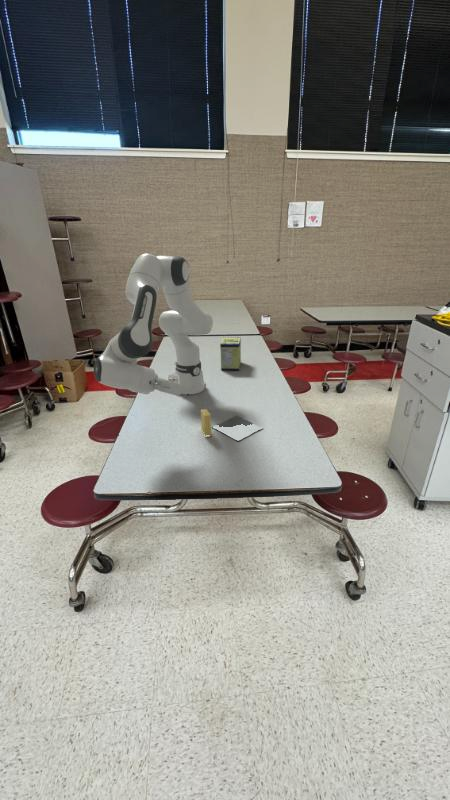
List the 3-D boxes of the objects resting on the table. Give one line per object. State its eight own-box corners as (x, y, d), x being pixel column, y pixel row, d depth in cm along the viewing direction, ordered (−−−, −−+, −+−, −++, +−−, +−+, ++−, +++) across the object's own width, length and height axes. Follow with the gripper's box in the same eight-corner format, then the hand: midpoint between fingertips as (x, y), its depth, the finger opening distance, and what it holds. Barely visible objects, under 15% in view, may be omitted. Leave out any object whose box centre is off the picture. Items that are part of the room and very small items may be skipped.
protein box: (240, 362, 214) (240, 336, 208) (239, 371, 200) (239, 344, 194) (223, 361, 215) (223, 336, 209) (220, 371, 201) (220, 344, 195)
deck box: (205, 437, 137) (204, 415, 133) (201, 431, 142) (200, 409, 138) (211, 436, 138) (210, 414, 134) (207, 430, 142) (206, 408, 138)
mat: (211, 427, 144) (211, 427, 144) (236, 416, 152) (236, 415, 152) (238, 442, 134) (238, 441, 134) (263, 428, 142) (263, 427, 142)
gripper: (159, 375, 109) (197, 384, 117) (136, 367, 125) (171, 376, 133) (154, 395, 109) (192, 403, 117) (132, 385, 126) (166, 392, 134)
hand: (181, 389), depth 125 cm, fingers open, 8 cm apart
